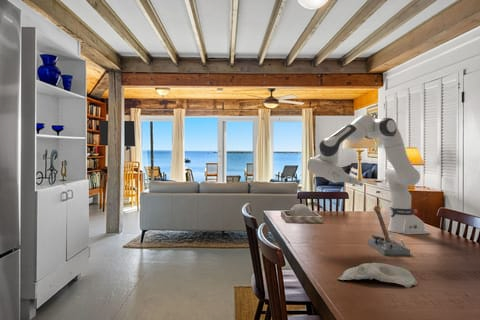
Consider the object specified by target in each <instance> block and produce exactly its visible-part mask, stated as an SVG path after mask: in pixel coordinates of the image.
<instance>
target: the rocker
mask: <svg viewBox="0 0 480 320" xmlns="http://www.w3.org/2000/svg"><path fill="white" fill-rule="evenodd" d="M371 239H377V240H378V239H381V241H384V239H385V237H384V236H379V235H375V234H371Z"/></svg>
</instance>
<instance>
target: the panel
mask: <svg viewBox="0 0 480 320" xmlns="http://www.w3.org/2000/svg"><path fill="white" fill-rule="evenodd" d="M390 241H391V242H392V245H391V246H390V243H388V242H386V241H385V238H384V241H381V239H378V240H377V239H373V238H370V239H369V238H368V239H367V245H368V246H370V247H371V248H373V249H375V250H376V251H377V252H378V253H380V254H382V255H383V256H410V255H411V249H409V248H408V247H405V248H404V249H403V248H402V244H401V243H399V242H396V241H394V240H393V239H392V240H390Z"/></svg>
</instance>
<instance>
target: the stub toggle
mask: <svg viewBox="0 0 480 320" xmlns="http://www.w3.org/2000/svg"><path fill="white" fill-rule="evenodd" d="M400 244H401V245H402V248H403V249H404V248H405V247H406V244H405V242H404V240H403V239H400ZM406 248H407V247H406Z"/></svg>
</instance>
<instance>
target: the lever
mask: <svg viewBox="0 0 480 320" xmlns="http://www.w3.org/2000/svg"><path fill="white" fill-rule="evenodd" d="M373 211H374V212H375V214H376V216H377V219H378V223H379V225H380V228H381V230H382V234H383V238H384V239H386V242H388V243H390V246H391V245H392V242H391V241H390V238H389V236H390V234H389V232H388V228H387V227H386V224H385V221H384V218H383V216H382V215H383V214H382V212H381V206H380V205H374V206H373Z"/></svg>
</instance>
